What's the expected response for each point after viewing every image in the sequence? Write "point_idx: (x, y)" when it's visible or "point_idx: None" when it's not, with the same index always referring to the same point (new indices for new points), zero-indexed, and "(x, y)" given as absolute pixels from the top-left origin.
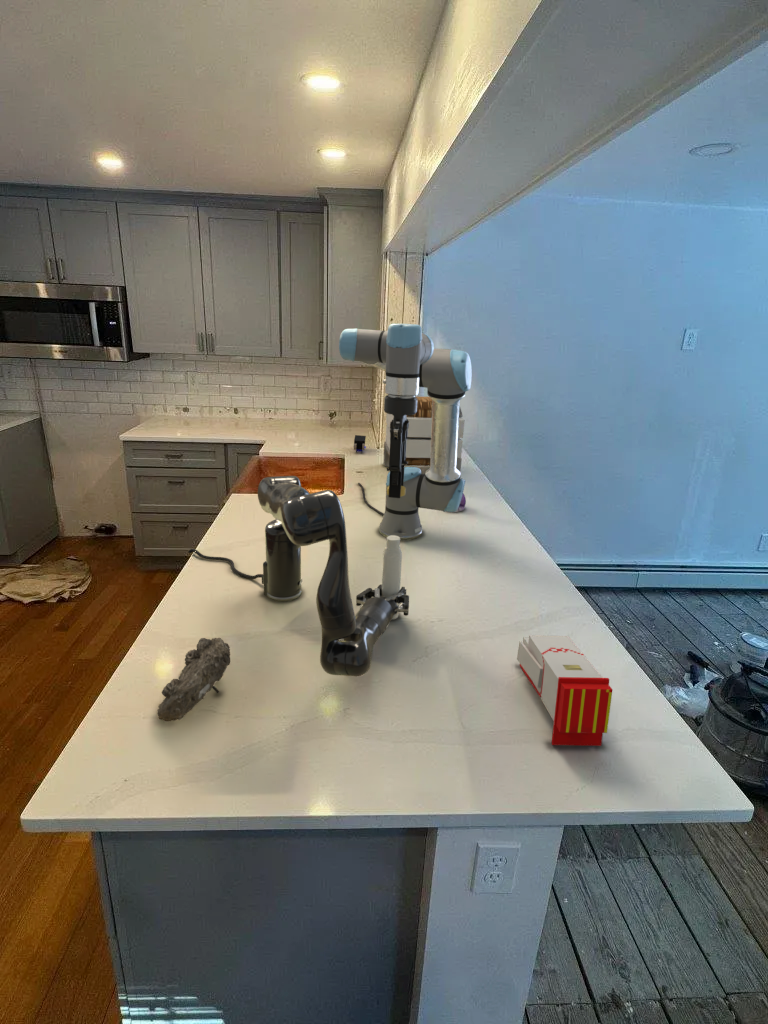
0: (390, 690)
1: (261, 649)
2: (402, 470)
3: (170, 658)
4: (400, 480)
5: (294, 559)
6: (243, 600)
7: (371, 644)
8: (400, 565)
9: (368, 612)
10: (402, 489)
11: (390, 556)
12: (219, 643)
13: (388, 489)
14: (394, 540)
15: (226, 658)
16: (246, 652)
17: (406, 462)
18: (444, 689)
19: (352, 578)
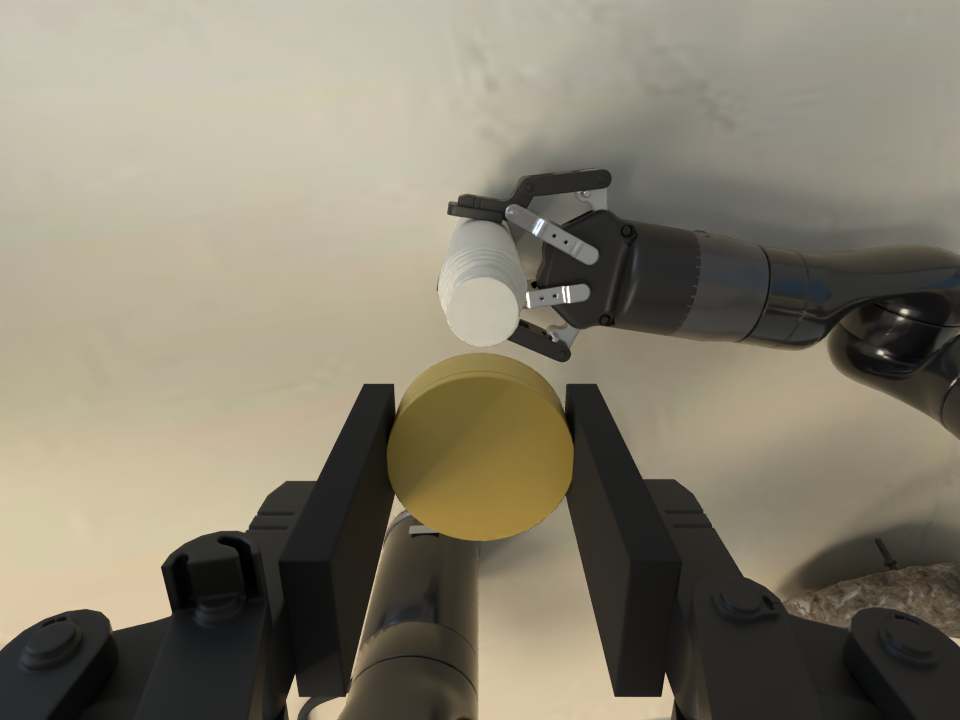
0: (871, 176)
1: (707, 513)
2: (348, 530)
3: None
4: (639, 484)
5: (451, 602)
6: (493, 614)
7: (865, 260)
8: (495, 239)
9: (746, 303)
10: (522, 401)
11: (525, 295)
12: None
13: (539, 519)
14: (516, 302)
15: (952, 583)
16: (721, 537)
17: (233, 569)
18: (870, 11)
19: (275, 393)
